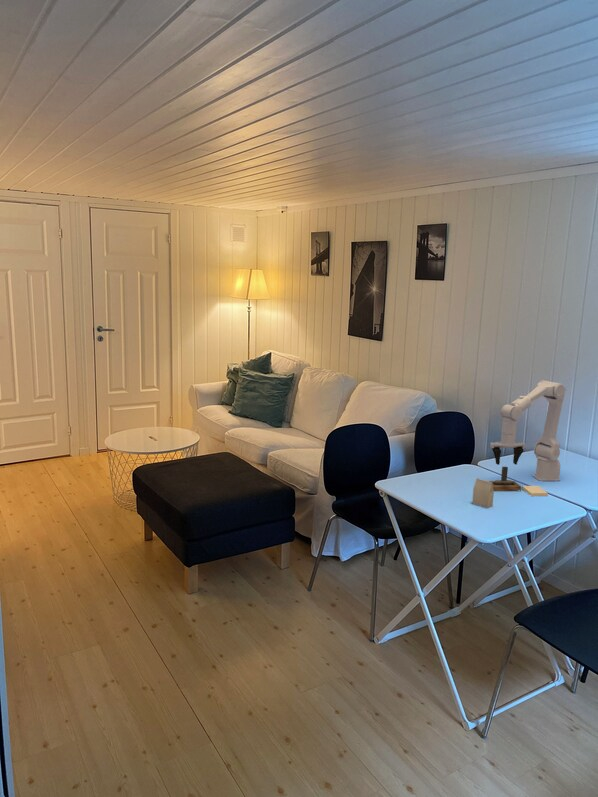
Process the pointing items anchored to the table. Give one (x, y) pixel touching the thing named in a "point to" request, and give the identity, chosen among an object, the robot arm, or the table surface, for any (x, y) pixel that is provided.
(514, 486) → the frame
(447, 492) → the table surface
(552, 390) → the robot arm
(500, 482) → the turner
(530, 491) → the tile
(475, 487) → the tea bag
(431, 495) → the table surface
